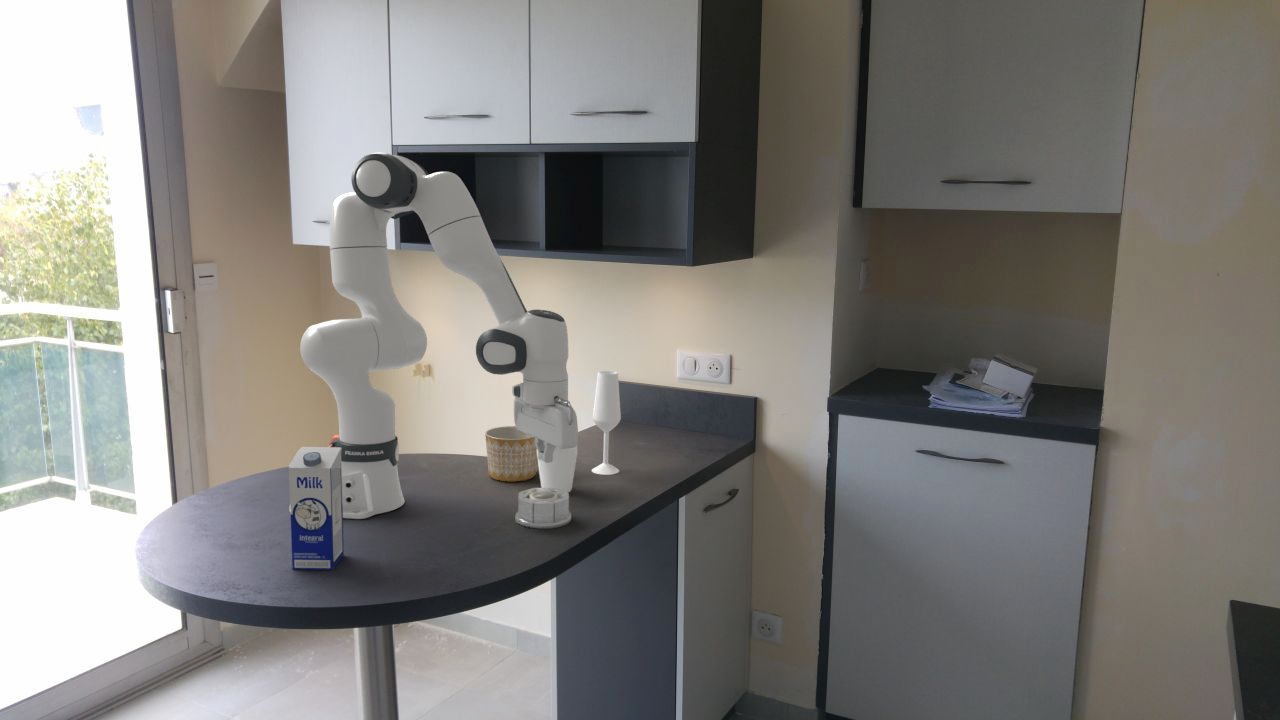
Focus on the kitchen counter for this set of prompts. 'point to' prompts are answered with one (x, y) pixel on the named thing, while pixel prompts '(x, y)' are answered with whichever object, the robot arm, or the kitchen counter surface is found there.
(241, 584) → the kitchen counter surface
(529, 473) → the planter
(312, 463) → the milk carton
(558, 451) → the cup
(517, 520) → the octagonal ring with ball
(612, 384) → the champagne flute
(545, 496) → the cap
